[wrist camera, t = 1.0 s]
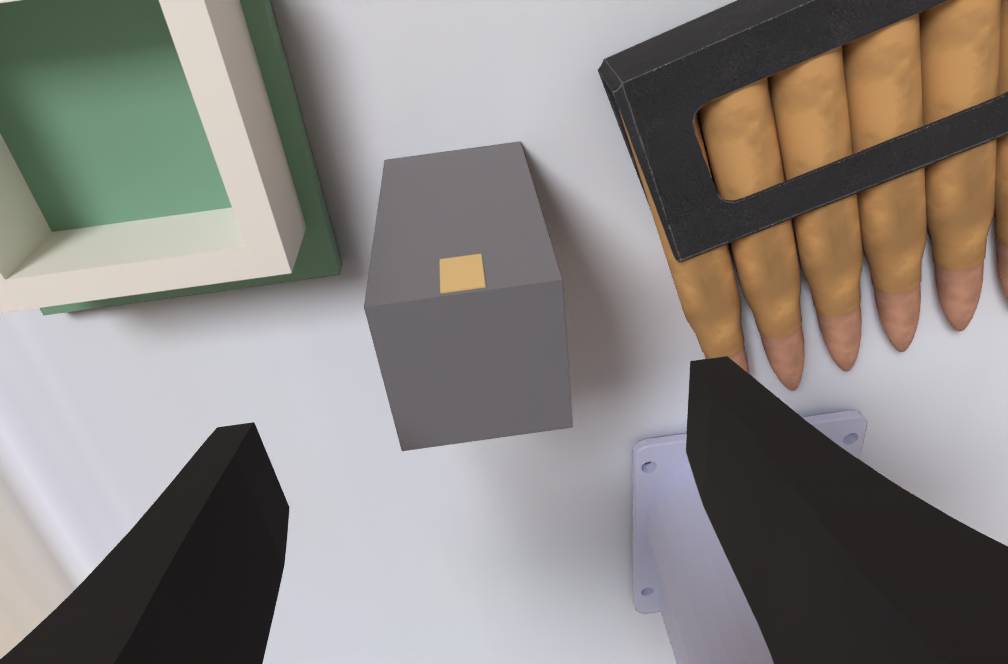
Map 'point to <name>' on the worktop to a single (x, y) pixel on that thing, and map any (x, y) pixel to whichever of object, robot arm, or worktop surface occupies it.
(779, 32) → the ammunition clip
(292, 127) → the board
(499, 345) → the plug
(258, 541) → the robot arm
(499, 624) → the worktop surface
